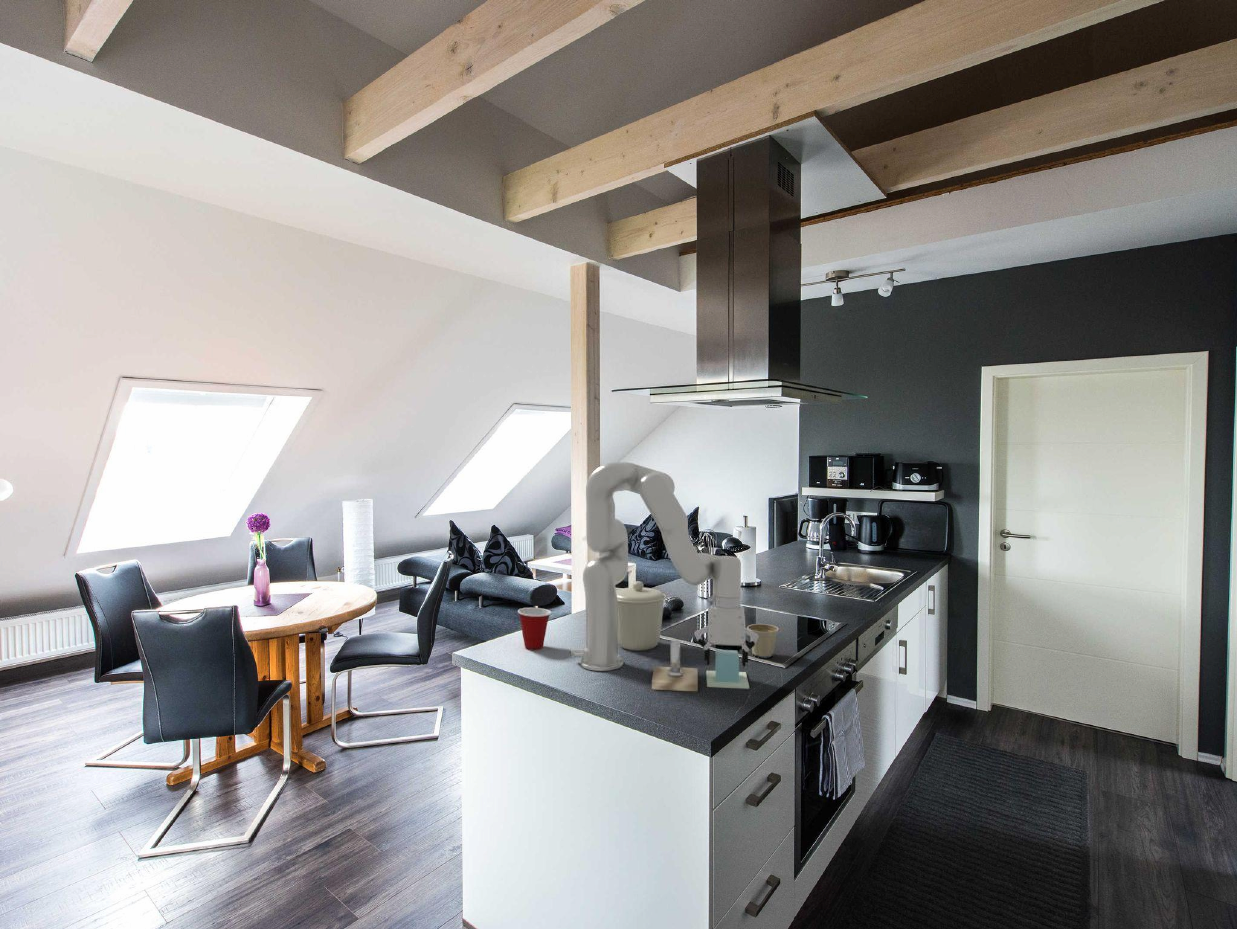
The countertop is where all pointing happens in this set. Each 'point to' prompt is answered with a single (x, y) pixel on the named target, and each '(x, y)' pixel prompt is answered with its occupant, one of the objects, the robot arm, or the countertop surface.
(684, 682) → the post base
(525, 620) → the plastic cup
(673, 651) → the post
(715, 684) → the mat
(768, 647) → the flower pot
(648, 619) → the canister
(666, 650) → the countertop surface
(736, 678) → the light blue upright block
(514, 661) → the countertop surface
